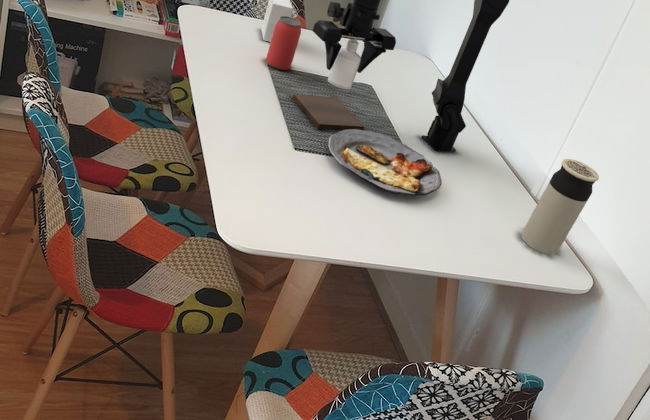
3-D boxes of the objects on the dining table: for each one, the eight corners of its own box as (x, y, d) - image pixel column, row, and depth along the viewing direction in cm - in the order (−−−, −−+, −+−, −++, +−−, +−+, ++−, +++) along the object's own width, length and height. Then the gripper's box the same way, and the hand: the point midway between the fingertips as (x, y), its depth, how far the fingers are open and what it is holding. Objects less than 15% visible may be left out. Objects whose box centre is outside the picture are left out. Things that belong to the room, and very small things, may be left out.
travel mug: (541, 258, 145) (585, 182, 136) (513, 234, 150) (553, 159, 141) (564, 252, 150) (608, 178, 141) (536, 229, 155) (576, 156, 146)
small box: (282, 45, 200) (293, 8, 195) (262, 40, 199) (272, 3, 193) (280, 34, 207) (290, -2, 201) (260, 29, 205) (270, -7, 200)
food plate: (453, 180, 162) (459, 167, 160) (412, 216, 143) (418, 201, 141) (357, 129, 169) (362, 115, 168) (306, 156, 151) (311, 141, 149)
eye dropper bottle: (341, 91, 164) (358, 41, 158) (324, 80, 167) (340, 30, 161) (353, 89, 168) (371, 40, 162) (336, 78, 170) (352, 29, 164)
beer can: (261, 58, 188) (273, 13, 182) (284, 60, 191) (297, 17, 185) (270, 69, 183) (283, 24, 177) (294, 72, 186) (307, 27, 180)
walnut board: (362, 131, 169) (364, 126, 169) (318, 128, 163) (319, 124, 162) (335, 101, 179) (337, 97, 178) (292, 98, 173) (294, 93, 172)
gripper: (382, -5, 168) (361, 58, 176) (312, -16, 158) (292, 51, 166) (407, 15, 160) (383, 80, 168) (335, 4, 151) (313, 73, 159)
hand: (343, 70), depth 166 cm, fingers closed on eye dropper bottle, 8 cm apart
